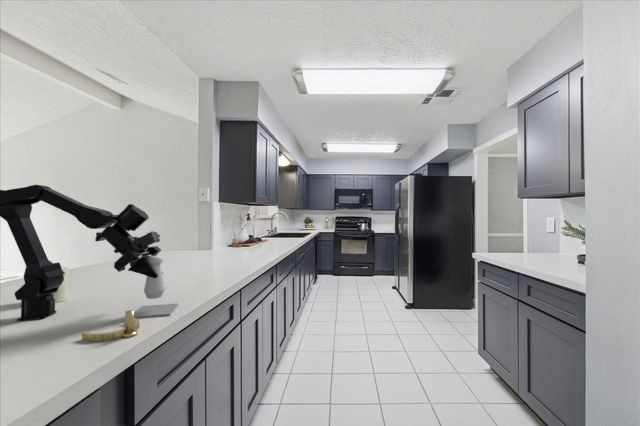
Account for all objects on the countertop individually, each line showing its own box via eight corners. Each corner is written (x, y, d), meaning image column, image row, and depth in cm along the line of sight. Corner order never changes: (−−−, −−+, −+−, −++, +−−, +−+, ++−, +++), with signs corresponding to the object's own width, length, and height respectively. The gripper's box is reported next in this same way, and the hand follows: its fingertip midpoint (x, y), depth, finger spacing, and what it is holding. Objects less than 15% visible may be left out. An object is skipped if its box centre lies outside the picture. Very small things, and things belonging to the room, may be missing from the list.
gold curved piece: (80, 339, 69) (80, 314, 70) (129, 322, 81) (129, 301, 81) (108, 346, 66) (109, 320, 66) (155, 327, 77) (155, 305, 77)
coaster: (128, 319, 84) (128, 317, 84) (141, 307, 94) (141, 305, 94) (169, 315, 86) (169, 313, 86) (178, 305, 97) (178, 303, 97)
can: (51, 304, 98) (52, 269, 98) (25, 304, 98) (25, 269, 98) (75, 297, 107) (75, 265, 107) (50, 297, 107) (51, 265, 108)
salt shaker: (166, 294, 94) (166, 254, 95) (163, 298, 89) (164, 256, 89) (145, 295, 92) (146, 255, 92) (142, 300, 87) (143, 257, 87)
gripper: (126, 223, 81) (167, 262, 82) (155, 222, 100) (188, 254, 101) (95, 251, 80) (137, 290, 81) (130, 245, 99) (164, 277, 100)
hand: (159, 276), depth 91 cm, fingers closed on salt shaker, 3 cm apart
